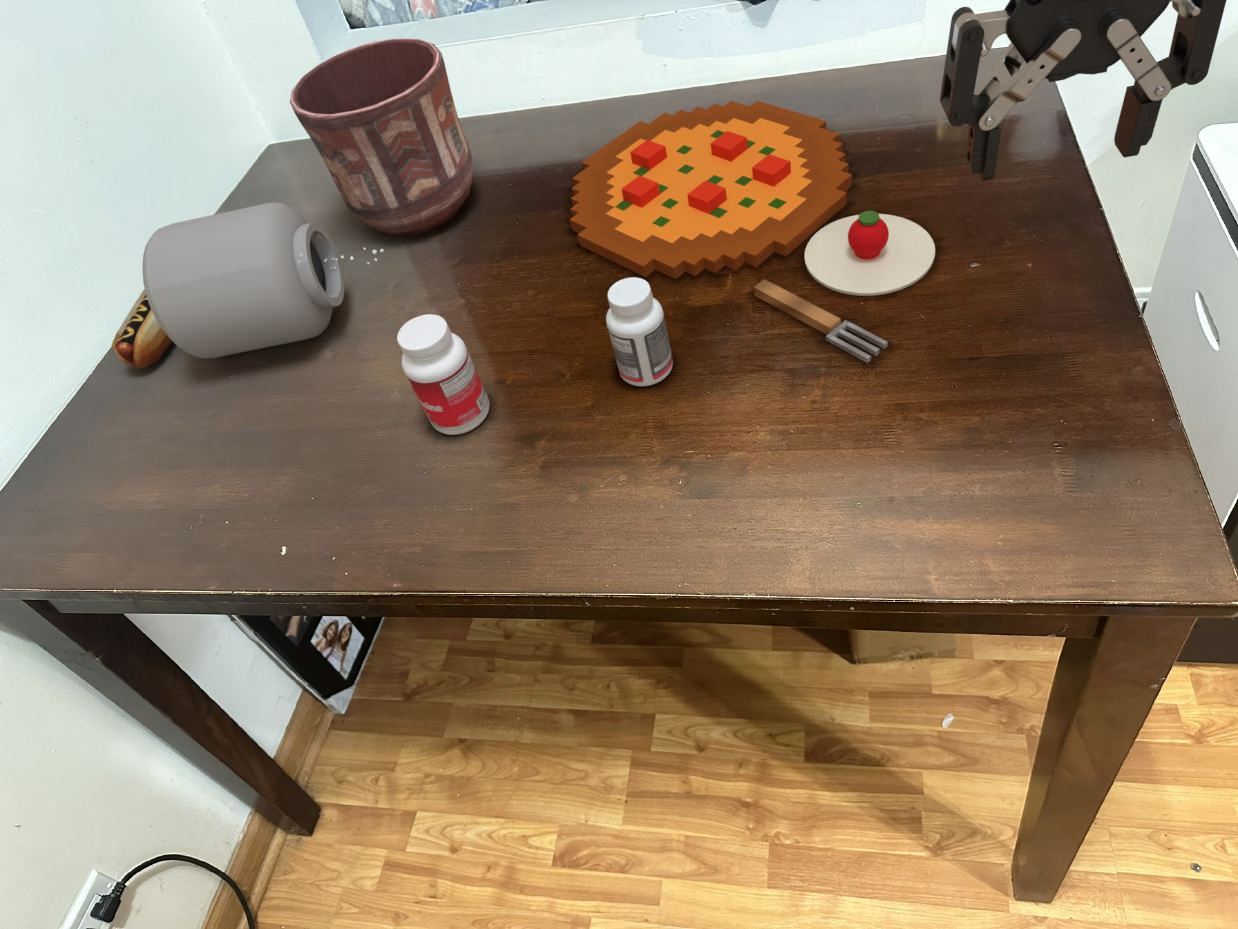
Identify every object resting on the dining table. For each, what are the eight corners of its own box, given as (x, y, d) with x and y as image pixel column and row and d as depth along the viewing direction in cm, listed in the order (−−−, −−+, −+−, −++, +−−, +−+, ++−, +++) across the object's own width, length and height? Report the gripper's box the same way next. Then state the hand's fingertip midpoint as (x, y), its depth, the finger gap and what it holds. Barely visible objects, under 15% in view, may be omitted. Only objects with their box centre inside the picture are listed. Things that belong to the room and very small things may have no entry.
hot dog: (206, 299, 107) (184, 266, 104) (165, 375, 99) (138, 343, 95) (171, 303, 108) (147, 271, 104) (126, 379, 100) (99, 347, 96)
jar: (228, 238, 106) (405, 189, 99) (257, 356, 108) (433, 318, 101) (99, 225, 88) (303, 165, 81) (137, 368, 90) (340, 322, 83)
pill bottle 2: (665, 343, 87) (650, 265, 79) (679, 378, 83) (665, 300, 76) (614, 358, 87) (594, 282, 79) (625, 394, 83) (606, 317, 76)
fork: (749, 299, 89) (748, 290, 88) (769, 284, 89) (768, 275, 89) (867, 363, 80) (868, 354, 79) (887, 346, 81) (888, 336, 80)
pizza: (719, 313, 88) (716, 290, 86) (522, 217, 106) (515, 195, 103) (902, 155, 99) (904, 131, 97) (696, 92, 117) (693, 71, 115)
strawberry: (864, 235, 91) (865, 199, 88) (895, 248, 89) (898, 213, 85) (839, 254, 90) (839, 219, 87) (870, 269, 87) (872, 233, 84)
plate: (859, 202, 95) (859, 199, 95) (962, 245, 88) (962, 241, 88) (778, 263, 91) (778, 260, 91) (878, 313, 84) (878, 310, 83)
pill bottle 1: (421, 413, 87) (377, 332, 78) (472, 382, 88) (435, 298, 80) (449, 447, 83) (407, 365, 75) (502, 413, 85) (466, 329, 76)
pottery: (420, 267, 103) (359, 128, 89) (328, 233, 112) (259, 101, 98) (514, 185, 111) (471, 45, 97) (421, 159, 119) (369, 28, 106)
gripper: (981, -69, 42) (951, 215, 54) (1308, -138, 39) (1199, 175, 52) (944, -121, 46) (925, 150, 59) (1234, -186, 44) (1151, 111, 56)
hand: (1053, 162), depth 55 cm, fingers open, 8 cm apart
